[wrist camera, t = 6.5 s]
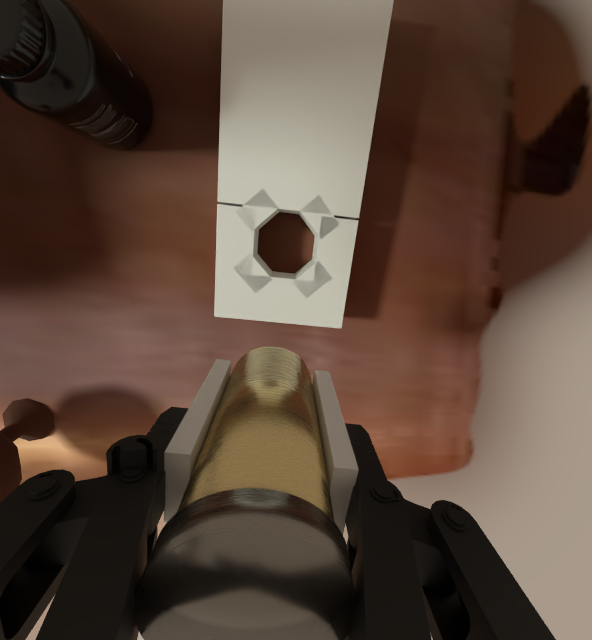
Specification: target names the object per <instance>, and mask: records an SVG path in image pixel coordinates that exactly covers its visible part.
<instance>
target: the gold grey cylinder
mask: <svg viewBox="0 0 592 640" xmlns="http://www.w3.org/2000/svg"><path fill="white" fill-rule="evenodd" d="M356 607H357V598H356V593H355V588H354V583H353V577H352V572H351V567H350V562H349V556H348V551H347V546H346V542H345V539H344V537H343V534H342V533H341V531H340V529H339V528H338V526H337V525H336V524H335V521H334V515H333V509H332V503H331V497H330V491H329V485H328V479H327V473H326V467H325V461H324V455H323V449H322V443H321V436H320V430H319V424H318V418H317V412H316V406H315V400H314V394H313V388H312V382H311V376H310V372H309V370H308V368H307V366H306V364H305V363H304V361H303V360H302V359H301V358H300V357H299V356H298V355H296V354H295V353H293V352H292V351H289V350H287V349H284V348H281V347H275V346H266V347H260V348H257V349H254V350H252V351H250V352H248V353H246V354H245V355H244V356H243V357H241V358H240V360H239V361H238V362H237V363H236V365H235V367H234V369H233V371H232V373H231V376H230V379H229V381H228V384H227V386H226V389H225V391H224V394H223V396H222V399H221V401H220V404H219V406H218V409H217V412H216V414H215V417H214V419H213V422H212V424H211V427H210V429H209V432H208V434H207V437H206V439H205V442H204V445H203V447H202V450H201V452H200V455H199V457H198V460H197V462H196V465H195V467H194V470H193V473H192V475H191V478H190V480H189V483H188V485H187V488H186V490H185V493H184V495H183V498H182V500H181V503H180V506H179V508H178V511H177V513H176V514H175V515H174V516H173V517H172V518H171V519H170V520H169V521H168V522H167V523H166V525H165V526H164V528H163V529H162V530H161V532H160V534H159V536H158V538H157V541H156V543H155V545H154V548H153V550H152V552H151V555H150V557H149V560H148V562H147V564H146V567H145V569H144V571H143V574H142V576H141V578H140V581H139V583H138V586H137V588H136V591H135V617H136V626H137V628H138V630H139V632H140V634H141V636H142V637H143V639H144V640H345V639H346V638H347V636H348V634H349V631H350V628H351V624H352V621H353V617H354V614H355V610H356Z"/></svg>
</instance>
